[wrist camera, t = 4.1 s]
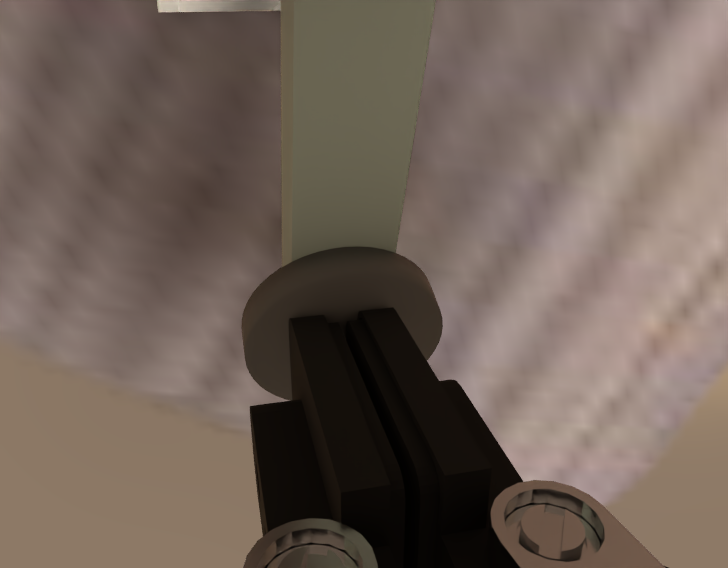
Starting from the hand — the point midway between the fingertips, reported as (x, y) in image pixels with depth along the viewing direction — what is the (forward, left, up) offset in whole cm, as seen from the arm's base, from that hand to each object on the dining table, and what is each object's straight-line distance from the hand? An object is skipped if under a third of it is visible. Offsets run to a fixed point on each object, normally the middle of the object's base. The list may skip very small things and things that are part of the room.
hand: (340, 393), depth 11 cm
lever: (-11, 0, +2) cm, 11 cm away
